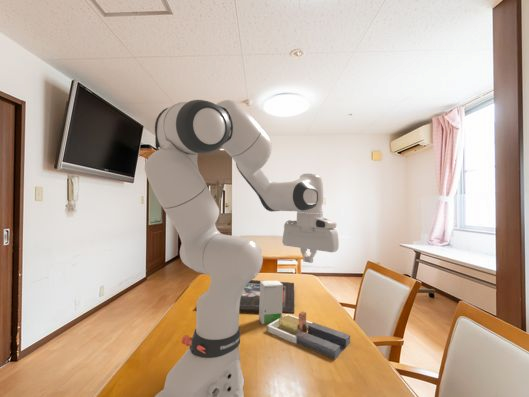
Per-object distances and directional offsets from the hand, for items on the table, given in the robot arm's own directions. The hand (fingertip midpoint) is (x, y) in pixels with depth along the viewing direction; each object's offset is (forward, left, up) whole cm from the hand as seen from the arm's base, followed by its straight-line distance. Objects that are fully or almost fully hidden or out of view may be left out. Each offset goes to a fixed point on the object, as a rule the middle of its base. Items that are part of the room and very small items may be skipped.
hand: (308, 262), depth 86 cm
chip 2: (+3, +6, -27) cm, 28 cm away
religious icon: (+20, +44, -29) cm, 56 cm away
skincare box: (+5, +19, -28) cm, 34 cm away
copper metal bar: (+3, +3, -27) cm, 27 cm away
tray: (+3, +8, -28) cm, 29 cm away
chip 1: (+3, +10, -27) cm, 29 cm away
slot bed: (+3, -5, -28) cm, 28 cm away
